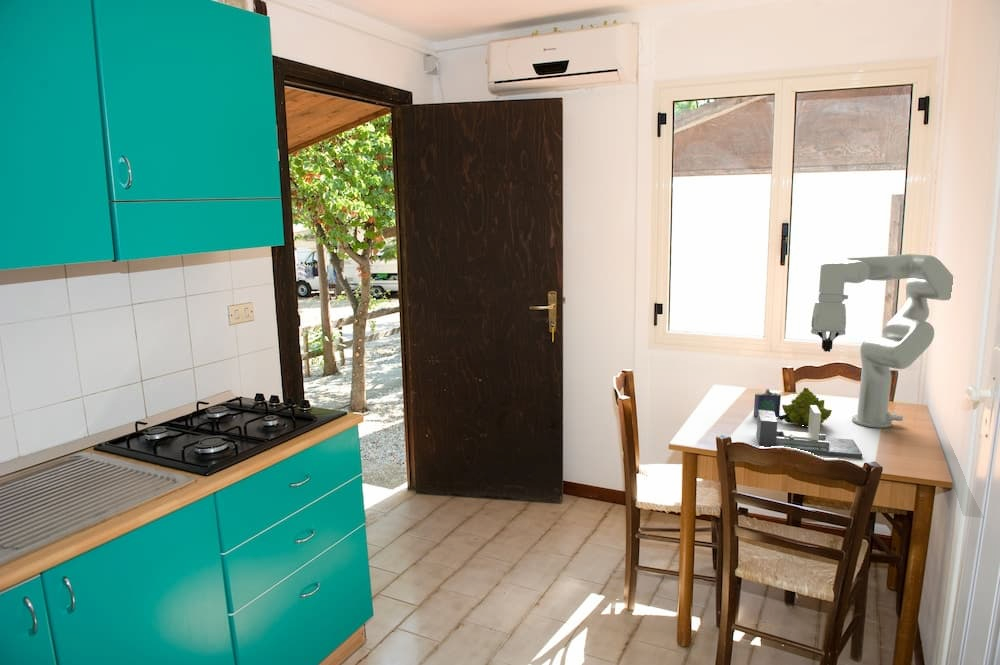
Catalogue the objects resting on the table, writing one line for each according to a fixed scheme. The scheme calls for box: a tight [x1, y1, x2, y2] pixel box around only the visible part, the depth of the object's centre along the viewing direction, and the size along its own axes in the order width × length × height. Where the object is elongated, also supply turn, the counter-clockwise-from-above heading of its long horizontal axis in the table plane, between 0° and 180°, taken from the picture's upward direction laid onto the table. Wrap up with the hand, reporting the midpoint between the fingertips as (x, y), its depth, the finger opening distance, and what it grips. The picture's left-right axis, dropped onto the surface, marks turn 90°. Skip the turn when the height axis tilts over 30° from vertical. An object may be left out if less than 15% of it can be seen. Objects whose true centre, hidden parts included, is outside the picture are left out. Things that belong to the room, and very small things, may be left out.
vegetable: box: [778, 387, 833, 428], centre depth 237 cm, size 15×16×15 cm
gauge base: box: [755, 410, 863, 460], centre depth 216 cm, size 30×14×10 cm, turn 73°
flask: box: [753, 388, 782, 418], centre depth 247 cm, size 9×3×11 cm, turn 83°
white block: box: [782, 405, 821, 440], centre depth 215 cm, size 10×11×11 cm
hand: (826, 350), depth 228 cm, fingers closed
